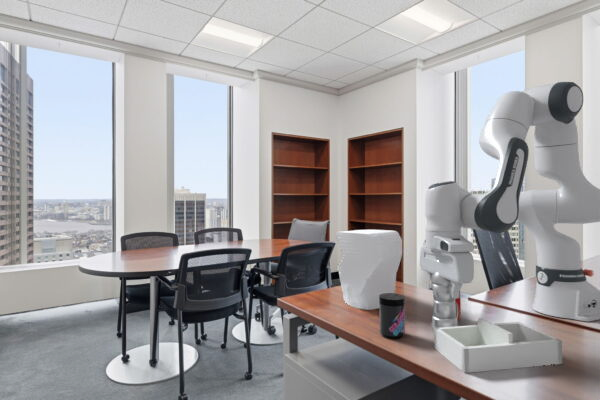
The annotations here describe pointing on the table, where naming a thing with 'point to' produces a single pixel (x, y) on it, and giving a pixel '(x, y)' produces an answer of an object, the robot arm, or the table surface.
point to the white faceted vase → (368, 265)
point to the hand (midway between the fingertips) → (444, 293)
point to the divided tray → (496, 346)
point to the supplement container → (392, 315)
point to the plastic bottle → (443, 303)
